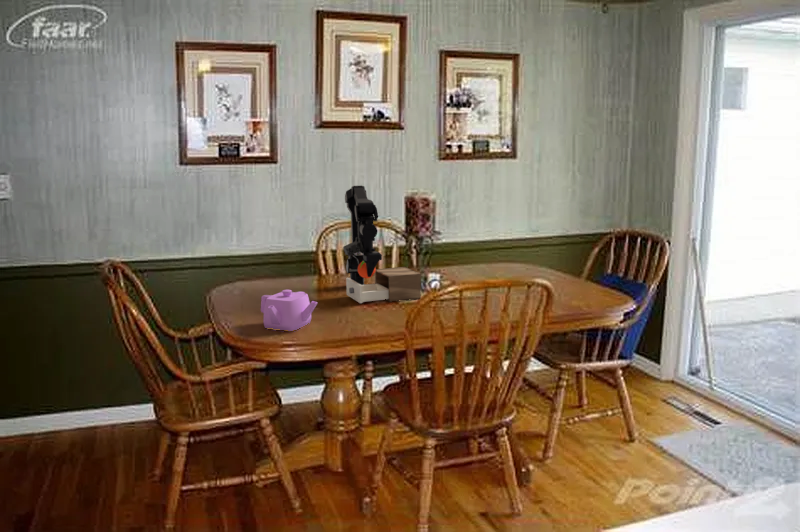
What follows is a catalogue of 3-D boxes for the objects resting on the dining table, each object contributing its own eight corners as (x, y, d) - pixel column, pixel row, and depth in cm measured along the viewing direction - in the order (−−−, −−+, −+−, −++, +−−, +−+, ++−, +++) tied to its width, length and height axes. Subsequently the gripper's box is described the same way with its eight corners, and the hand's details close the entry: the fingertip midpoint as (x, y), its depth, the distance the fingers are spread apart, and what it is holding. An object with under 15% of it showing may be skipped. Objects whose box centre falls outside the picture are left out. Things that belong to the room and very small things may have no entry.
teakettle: (304, 317, 254) (303, 282, 252) (319, 329, 239) (318, 293, 237) (256, 322, 248) (255, 287, 245) (269, 335, 232) (268, 298, 230)
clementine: (368, 281, 272) (368, 262, 270) (352, 279, 275) (352, 261, 274) (379, 277, 279) (378, 259, 277) (363, 275, 282) (363, 257, 281)
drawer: (343, 295, 283) (343, 278, 281) (376, 291, 288) (376, 275, 287) (357, 303, 269) (356, 285, 268) (391, 300, 275) (391, 282, 274)
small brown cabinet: (375, 293, 288) (374, 269, 286) (404, 290, 293) (404, 266, 291) (389, 302, 275) (389, 276, 273) (420, 298, 280) (420, 273, 278)
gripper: (337, 232, 279) (337, 272, 282) (354, 240, 262) (354, 281, 265) (364, 230, 283) (364, 269, 287) (382, 238, 267) (382, 279, 270)
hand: (365, 274), depth 277 cm, fingers closed on clementine, 7 cm apart
